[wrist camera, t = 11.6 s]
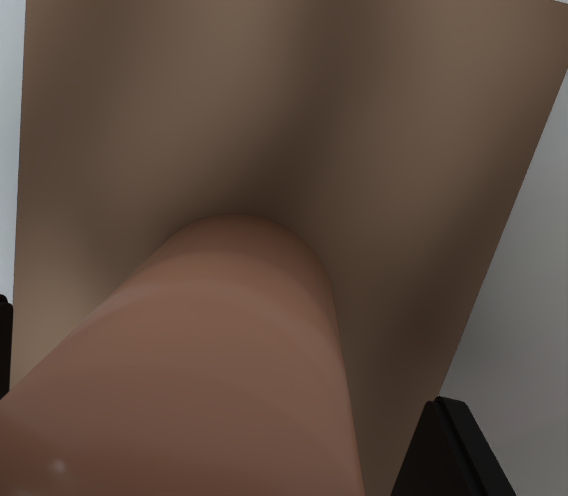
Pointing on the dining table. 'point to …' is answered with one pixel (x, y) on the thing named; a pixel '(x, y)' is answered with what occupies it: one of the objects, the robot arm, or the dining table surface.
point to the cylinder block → (194, 379)
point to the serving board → (286, 163)
